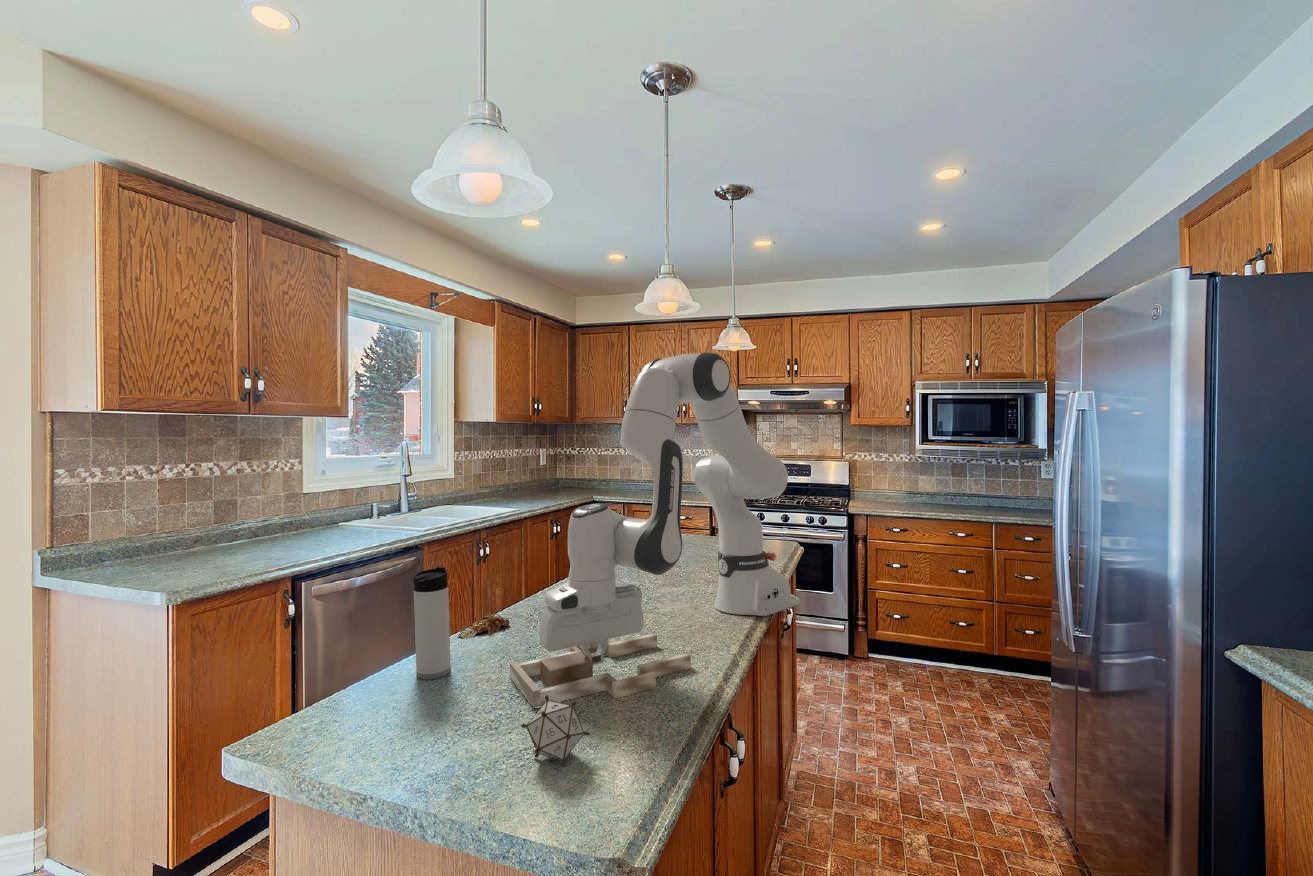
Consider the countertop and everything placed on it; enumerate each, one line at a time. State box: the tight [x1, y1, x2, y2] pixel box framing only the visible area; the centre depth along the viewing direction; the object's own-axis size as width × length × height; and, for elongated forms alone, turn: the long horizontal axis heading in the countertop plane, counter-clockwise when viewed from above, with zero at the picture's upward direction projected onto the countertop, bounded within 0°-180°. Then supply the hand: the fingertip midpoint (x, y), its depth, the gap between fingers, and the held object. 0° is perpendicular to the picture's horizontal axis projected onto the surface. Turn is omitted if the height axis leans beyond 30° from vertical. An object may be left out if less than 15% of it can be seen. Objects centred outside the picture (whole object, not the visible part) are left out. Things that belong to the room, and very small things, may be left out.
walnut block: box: [539, 652, 594, 688], centre depth 110 cm, size 8×6×4 cm
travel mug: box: [413, 566, 452, 681], centre depth 115 cm, size 6×7×20 cm
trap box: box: [509, 633, 692, 709], centre depth 113 cm, size 31×22×3 cm
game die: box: [520, 695, 591, 765], centre depth 84 cm, size 9×8×10 cm
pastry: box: [457, 613, 510, 640], centre depth 139 cm, size 7×12×4 cm, turn 144°
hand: (594, 663), depth 112 cm, fingers closed
